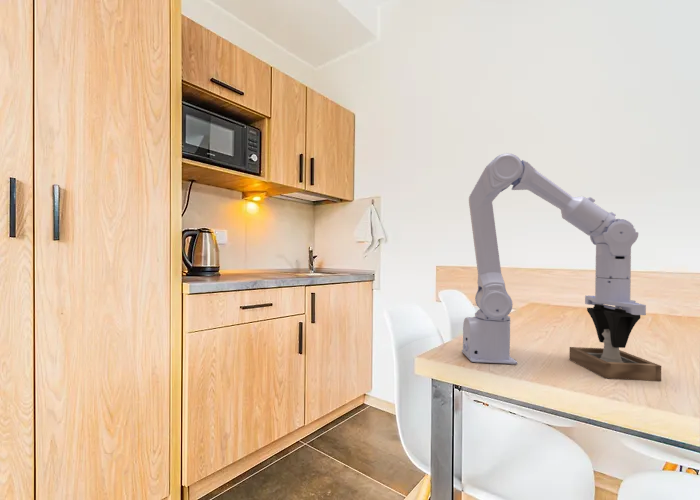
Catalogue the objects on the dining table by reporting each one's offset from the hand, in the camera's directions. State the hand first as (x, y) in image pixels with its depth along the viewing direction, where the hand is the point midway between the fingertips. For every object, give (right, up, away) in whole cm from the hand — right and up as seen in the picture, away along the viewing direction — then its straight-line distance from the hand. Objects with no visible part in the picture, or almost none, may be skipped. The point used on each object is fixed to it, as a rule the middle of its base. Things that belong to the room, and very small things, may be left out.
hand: (611, 344), depth 69 cm
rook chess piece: (0, -5, 0) cm, 5 cm away
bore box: (0, -5, 0) cm, 5 cm away
